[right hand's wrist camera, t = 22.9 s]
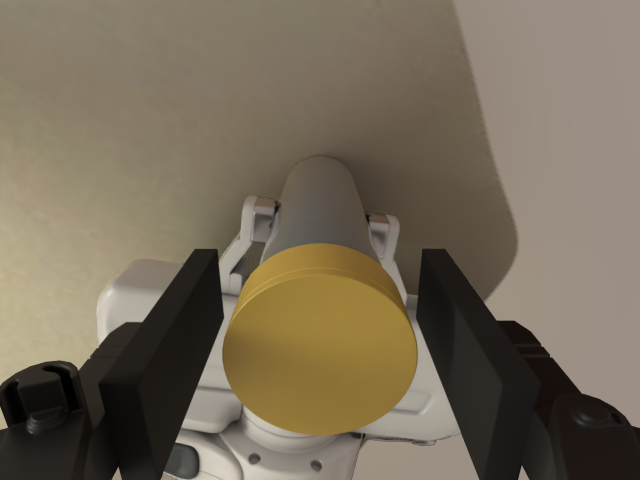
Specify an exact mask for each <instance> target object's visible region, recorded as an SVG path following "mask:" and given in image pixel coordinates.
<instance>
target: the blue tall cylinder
mask: <svg viewBox="0 0 640 480" xmlns="http://www.w3.org/2000/svg"><path fill="white" fill-rule="evenodd" d="M316 243H325V244H335V245H340V246H345V247H348V248H351V249H354V250H357V251H359V252H361V253H363V254H365V255H367V256H368V257H370V258H371V259H373V260H374V261H376V262H377V263H378V264H379V265H381V266H382V264H381V261H380V258H379V255H378V252H377V249H376V246H375V243H374V240H373V237H372V234H371V231H370V228H369V224H368V221H367V218H366V215H365V212H364V209H363V206H362V203H361V200H360V197H359V194H358V191H357V188H356V184H355V181H354V178H353V176H352V174H351V173H350V171H349V170H348V169H347V167H346V166H345V165H343V164H342V163H341V162H339V161H338V160H336V159H334V158H330V157H326V156H314V157H310V158H307V159H304V160H302V161H301V162H299V163H298V164H297V165H296V166H294V167H293V169H292V170H291V171H290V173H289V174H288V176H287V179H286V182H285V185H284V188H283V191H282V194H281V197H280V200H279V203H278V206H277V209H276V212H275V215H274V219H273V222H272V225H271V228H270V231H269V234H268V237H267V240H266V243H265V246H264V249H263V252H262V255H261V259H260V262H259V265H261V264H262V263H263V262H264V261H266V260H267V259H268V258H270V257H272V256H274V255H275V254H277V253H279V252H281V251H284V250H286V249H289V248H292V247H296V246H299V245H305V244H316ZM259 265H258V266H259Z"/></svg>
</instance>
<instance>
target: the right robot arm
mask: <svg viewBox="0 0 640 480" xmlns="http://www.w3.org/2000/svg"><path fill="white" fill-rule="evenodd" d="M223 320H224V310H223V300H222V290H221V280H220V270H219V260H218V251H217V249H195V250H194V251H193V252H192V254H191V255H190V257H189V258H188V259H187V261H186V262H185V264H184V265H183V266H182V268H181V269H180V270H179V272H178V273H177V275H176V276H175V277H174V279H173V280H172V282H171V283H170V284H169V286H168V287H167V289H166V290H165V291H164V293H163V294H162V295H161V297H160V298H159V300H158V301H157V302H156V304H155V305H154V307H153V308H152V309H151V311H150V312H149V314H148V315H147V316H146V318H145V319H144V320H143V322H125V323H124V324H122V325H121V326H119V327H118V328H116V329H115V330H113V331H112V332H110V333H109V334H108V335H107V337H106V338H105V339H104V340H103V341H102V343H101V344H100V345H99V348H97V349H96V350H95V351H94V352H93V354H92V355H91V356H90V359H88V360H87V361H86V362H85V363H84V365H83V366H82V367H81V368H80V370H79V371H78V369H77V367H76V366H75V365H73V364H72V363H71V362H65V361H50V362H44V363H40V364H37V365H33V366H30V367H28V368H26V369H24V370H22V371H20V372H18V373H15V374H14V375H13V376H11V377H10V378H9V379H7V380H6V381H4V382H3V383H2V384H1V386H0V407H1V410H2V412H3V415H4V418H5V420H6V423H7V426H8V428H5V429H2V430H0V480H112V478H113V476H114V474H115V472H116V470H117V468H118V466H119V470H120V474H121V478H122V480H161V477H162V475H163V472H164V470H165V467H166V464H167V462H168V459H169V457H170V454H171V452H172V449H173V447H174V444H175V442H176V439H177V437H178V434H179V432H180V429H181V426H182V424H183V421H184V419H185V416H186V414H187V411H188V409H189V406H190V404H191V401H192V399H193V396H194V393H195V391H196V388H197V386H198V383H199V381H200V378H201V376H202V373H203V371H204V368H205V366H206V363H207V361H208V358H209V355H210V353H211V350H212V348H213V345H214V343H215V340H216V338H217V335H218V333H219V330H220V328H221V325H222V323H223ZM416 320H417V323H418V325H419V328H420V330H421V333H422V335H423V338H424V340H425V343H426V345H427V348H428V350H429V353H430V355H431V358H432V361H433V363H434V366H435V368H436V371H437V373H438V376H439V378H440V381H441V383H442V386H443V388H444V391H445V393H446V396H447V399H448V401H449V404H450V406H451V409H452V411H453V414H454V416H455V419H456V421H457V424H458V426H459V429H460V432H461V434H462V437H463V439H464V442H465V444H466V447H467V449H468V452H469V454H470V457H471V459H472V462H473V464H474V467H475V470H476V472H477V475H478V477H479V480H518V478H519V474H520V470H521V466H523V468H524V470H525V472H526V474H527V476H528V478H529V480H640V428H637V427H634V426H631V424H630V423H629V422H628V420H627V419H626V417H625V416H624V415H623V414H622V413H620V412H619V411H618V410H617V409H616V408H614V407H613V406H611V405H609V404H608V403H606V402H604V401H602V400H600V399H598V398H595V397H592V396H589V395H585V394H582V393H581V392H580V391H579V390H578V388H577V387H576V386H575V385H574V383H573V382H572V381H571V380H570V379H569V377H568V376H567V375H566V374H565V373H564V371H563V370H562V369H561V368H560V366H559V365H558V364H557V363H556V362H555V360H554V359H553V358H550V354H549V353H548V352H547V351H546V350H545V348H544V347H541V343H540V342H539V341H538V340H537V339H536V337H535V336H534V335H533V334H532V332H531V331H529V330H528V329H526V328H525V327H523V326H522V325H520V324H519V323H517V322H516V321H497V320H496V319H495V318H494V316H493V315H492V314H491V312H490V311H489V309H488V308H487V307H486V305H485V304H484V302H483V301H482V300H481V298H480V297H479V295H478V294H477V293H476V291H475V290H474V289H473V287H472V286H471V284H470V283H469V282H468V280H467V279H466V277H465V276H464V275H463V273H462V272H461V270H460V269H459V268H458V266H457V265H456V264H455V262H454V261H453V259H452V258H451V257H450V255H449V254H448V252H447V251H446V250H445V249H423V251H422V260H421V270H420V280H419V290H418V300H417V310H416Z"/></svg>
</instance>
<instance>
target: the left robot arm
mask: <svg viewBox="0 0 640 480" xmlns="http://www.w3.org/2000/svg"><path fill="white" fill-rule="evenodd" d="M277 205H278V200H277V199H271V198H265V197H259V196H253V195H248V196H247V198H246V199H245V201H244V205H243V210H242V220H241V231H240V232H239V233H238V235H237V236H236V237H235V238H234V240H233V241H232V242H231V244H230V245H229V246H228V248H227V249H226V250H225V251H224V253H223V254H222V256H221V258H220V260H219V270H220V280H221V290H222V300H223V310H224V320H223V323H222V325H221V328H220V330H219V333H218V335H217V338H216V340H215V343H214V345H213V348H212V350H211V353H210V355H209V358H208V361H207V363H206V366H205V368H204V371H203V373H202V376H201V378H200V381H199V383H198V386H197V388H196V391H195V393H194V396H193V399H192V401H191V404H190V406H189V409H188V411H187V414H186V416H185V419H184V421H183V424H182V426H181V429H180V432H179V434H178V437H177V439H176V442H175V444H174V447H173V449H172V452H171V454H170V457H169V459H168V462H167V464H166V467H165V470H164V472H163V473H165V474H167V475H170V476H172V477H175V478H178V479H180V480H352V477H353V472H354V469H355V465H356V461H357V456H358V453H359V449H360V445H361V441H362V439H367V440H376V441H385V442H392V441H393V442H396V441H397V442H400V441H401V442H411V443H413V444H415V445H421V446H430V445H434V444H435V443H436V440H442V439H446V438H449V437H451V436H457V435H459V434H460V433H461V432H460V429H459V426H458V424H457V421H456V419H455V416H454V414H453V411H452V409H451V406H450V404H449V401H448V399H447V396H446V393H445V391H444V388H443V386H442V383H441V381H440V378H439V376H438V373H437V371H436V368H435V366H434V363H433V361H432V358H431V355H430V353H429V350H428V348H427V345H426V343H425V340H424V338H423V335H422V333H421V330H420V328H419V325H418V323H417V320H416V310H417V300H418V295H412V294H407V293H406V290H405V287H404V284H403V281H402V279H401V276H400V273H399V270H398V267H397V264H396V261H395V259H394V254H395V249H396V245H397V241H398V236H399V232H400V223H399V221H398V219H397V218H396V216H392V215H385V214H378V213H370V212H367V213H366V218H367V221H368V224H369V228H370V231H371V234H372V237H373V240H374V243H375V246H376V249H377V252H378V255H379V258H380V261H381V264H382V267H383V268H384V269H385V270H386V271H387V273H388V274H389V275H390V276H391V277H392V279H393V281H394V282H395V284H396V285H397V288H398V290H399V292H400V294H401V297H402V300H403V303H404V305H405V308H406V311H407V314H408V316H409V319H410V322H411V325H412V327H413V330H414V333H415V337H416V340H417V347H418V363H417V368H416V372H415V376H414V378H413V381H412V383H411V385H410V387H409V389H408V391H407V392H406V394H405V395H404V397H403V398H402V399H401V401H400V402H399V403H398V404H397V405H396V406H395V407H394V408H393V409H392V410H391V411H389V412H388V413H387V414H386V415H384V416H383V417H381V418H380V419H378V420H376V421H375V422H373V423H371V424H369V425H367V426H365V427H362V428H359V429H356V430H353V431H350V432H345V433H341V434H333V435H306V434H300V433H294V432H291V431H287V430H284V429H281V428H278V427H276V426H273V425H271V424H269V423H267V422H265V421H264V420H262V419H260V418H259V417H257V416H256V415H255V414H253V413H252V412H251V411H250V410H248V409H247V408H246V407H245V406H244V405H243V404H242V403H241V401H240V400H239V399H238V398H237V396H236V395H235V394H234V392H233V391H232V389H231V387H230V385H229V383H228V381H227V378H226V375H225V372H224V367H223V361H222V348H223V342H224V337H225V334H226V331H227V328H228V325H229V322H230V320H231V317H232V314H233V312H234V309H235V306H236V303H237V301H238V298H239V295H240V292H241V290H242V288H243V286H244V284H245V282H246V281H247V279H248V278H249V277H250V275H251V274H252V273H248V267H249V258H248V257H247V256H243V255H244V254H245V252H246V251H247V250H248V249H249V247H250V246H251V245H252V243H253V242H263V243H266V240H267V237H268V234H269V231H270V228H271V225H272V222H273V219H274V215H275V212H276V209H277ZM183 265H184V264H179V263H172V262H164V261H157V260H150V259H137V260H135V261H133V262H132V263H130V264H129V265H128V266H127V267H125V268H124V269H123V270H122V271H121V272H119V273H118V274H117V275H116V276H115V277H114V278H113V279H112V280H111V281H110V282H109V283H108V285H107V286H106V287H105V288H104V290H103V291H102V292H101V294H100V296H99V298H98V301H97V308H96V319H97V332H98V341H99V345H100V344H101V343H102V341H103V340H104V339H105V338H106V337H107V335H108V334H109V333H110V332H112V331H113V330H115V329H116V328H118V327H119V326H121V325H122V324H124V323H125V322H143V320H144V319H145V318H146V316H147V315H148V314H149V312H150V311H151V309H152V308H153V307H154V305H155V304H156V302H157V301H158V300H159V298H160V297H161V295H162V294H163V293H164V291H165V290H166V289H167V287H168V286H169V284H170V283H171V282H172V280H173V279H174V277H175V276H176V275H177V273H178V272H179V270H180V269H181V268H182V266H183Z"/></svg>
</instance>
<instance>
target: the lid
mask: <svg viewBox="0 0 640 480" xmlns="http://www.w3.org/2000/svg"><path fill="white" fill-rule="evenodd" d="M222 361H223V367H224V372H225V375H226V378H227V381H228V383H229V385H230V387H231V389H232V391H233V392H234V394H235V395H236V396H237V398H238V399H239V400H240V401H241V403H242V404H243V405H244V406H245V407H246V408H247V409H248V410H250V411H251V412H252V413H253V414H255V415H256V416H257V417H259V418H260V419H262V420H264V421H265V422H267V423H269V424H271V425H273V426H276V427H278V428H281V429H284V430H287V431H291V432H294V433H300V434H306V435H333V434H341V433H345V432H350V431H353V430H356V429H359V428H362V427H365V426H367V425H369V424H371V423H373V422H375V421H376V420H378V419H380V418H381V417H383V416H384V415H386V414H387V413H388V412H389V411H391V410H392V409H393V408H394V407H395V406H396V405H397V404H398V403H399V402H400V401H401V399H402V398H403V397H404V395H405V394H406V392H407V391H408V389H409V387H410V385H411V383H412V381H413V378H414V376H415V372H416V368H417V363H418V347H417V340H416V337H415V333H414V330H413V327H412V325H411V322H410V319H409V316H408V314H407V311H406V308H405V305H404V303H403V300H402V297H401V294H400V292H399V290H398V288H397V285H396V284H395V282H394V281H393V279H392V277H391V276H390V275H389V274H388V273H387V271H386V270H385V269H384V268H383V267H382V266H381V265H379V264H378V263H377V262H376V261H374V260H373V259H371V258H370V257H368V256H367V255H365V254H363V253H361V252H359V251H357V250H354V249H351V248H348V247H345V246H340V245H335V244H325V243H316V244H305V245H299V246H296V247H292V248H289V249H286V250H284V251H281V252H279V253H277V254H275V255H274V256H272V257H270V258H268V259H267V260H266V261H264V262H263V263H262V264H261V265H259V266H258V267H257V268H256V269H255V271H254V272H253V273H252V274H251V275H250V277H249V278H248V279H247V281H246V282H245V284H244V286H243V288H242V290H241V292H240V295H239V298H238V301H237V303H236V306H235V309H234V312H233V314H232V317H231V320H230V322H229V325H228V328H227V331H226V334H225V337H224V342H223V348H222Z"/></svg>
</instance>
